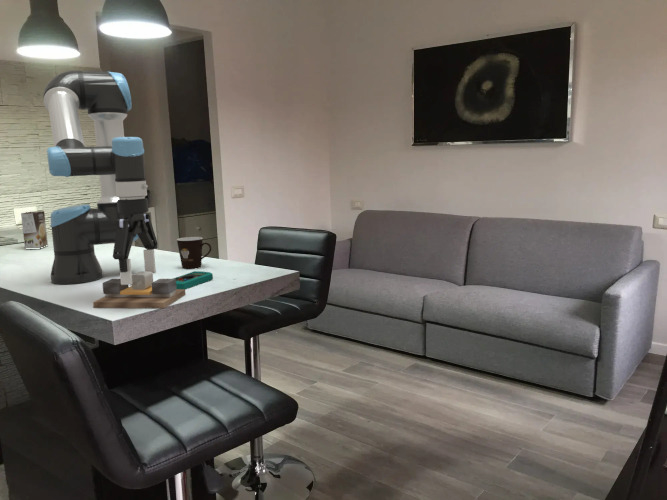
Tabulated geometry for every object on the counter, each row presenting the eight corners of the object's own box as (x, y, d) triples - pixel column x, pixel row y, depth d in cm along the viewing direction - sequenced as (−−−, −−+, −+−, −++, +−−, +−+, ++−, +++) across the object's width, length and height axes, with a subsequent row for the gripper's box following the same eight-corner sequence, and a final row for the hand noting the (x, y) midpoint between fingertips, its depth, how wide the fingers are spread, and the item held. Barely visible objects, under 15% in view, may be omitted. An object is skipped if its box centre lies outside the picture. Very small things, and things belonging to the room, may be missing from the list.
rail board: (93, 307, 141) (91, 286, 140) (120, 294, 155) (118, 275, 154) (164, 308, 139) (162, 287, 138) (185, 294, 153) (184, 275, 152)
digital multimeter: (162, 290, 161) (161, 280, 160) (195, 279, 174) (194, 270, 174) (182, 292, 158) (181, 282, 157) (214, 280, 171) (213, 271, 171)
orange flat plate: (120, 294, 144) (119, 291, 144) (131, 289, 150) (130, 286, 150) (150, 294, 143) (149, 291, 143) (159, 289, 149) (159, 286, 149)
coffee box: (40, 249, 240) (35, 212, 237) (24, 250, 239) (20, 213, 237) (48, 246, 249) (44, 210, 246) (33, 246, 248) (29, 211, 246)
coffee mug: (174, 267, 191) (171, 239, 189) (195, 263, 197) (193, 236, 196) (192, 272, 183) (190, 242, 182) (214, 267, 190) (212, 238, 188)
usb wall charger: (153, 285, 150) (152, 271, 149) (141, 292, 143) (139, 277, 142) (139, 285, 150) (138, 271, 149) (126, 292, 143) (125, 276, 143)
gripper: (122, 201, 130) (130, 289, 133) (166, 194, 154) (171, 268, 158) (92, 202, 131) (100, 289, 134) (140, 194, 155) (146, 268, 159)
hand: (139, 278), depth 146 cm, fingers open, 13 cm apart
